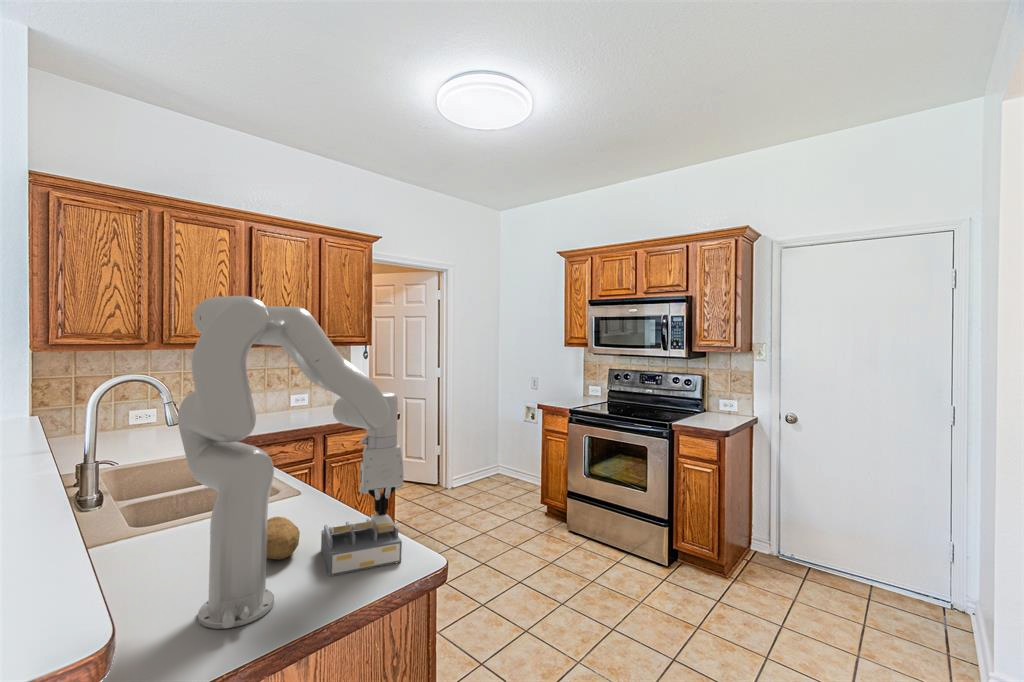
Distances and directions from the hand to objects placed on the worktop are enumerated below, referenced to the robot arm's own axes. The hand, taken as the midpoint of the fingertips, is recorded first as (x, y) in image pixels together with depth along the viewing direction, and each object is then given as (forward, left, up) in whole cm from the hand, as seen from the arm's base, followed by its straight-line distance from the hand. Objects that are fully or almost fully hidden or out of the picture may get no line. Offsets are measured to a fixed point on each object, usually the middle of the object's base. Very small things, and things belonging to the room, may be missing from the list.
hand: (381, 513), depth 122 cm
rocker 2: (-4, +6, -1) cm, 7 cm away
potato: (+4, +23, -9) cm, 25 cm away
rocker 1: (-4, +11, -1) cm, 11 cm away
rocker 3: (-4, +1, -1) cm, 4 cm away
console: (-4, +6, -8) cm, 11 cm away
